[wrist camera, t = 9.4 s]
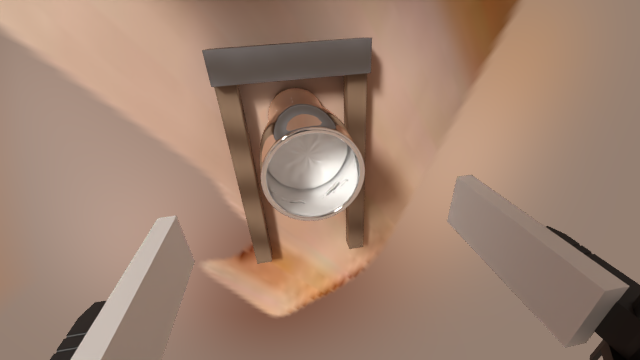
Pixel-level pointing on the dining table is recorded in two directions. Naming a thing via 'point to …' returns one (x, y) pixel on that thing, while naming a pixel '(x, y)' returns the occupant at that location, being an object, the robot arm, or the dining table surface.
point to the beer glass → (308, 158)
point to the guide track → (282, 65)
